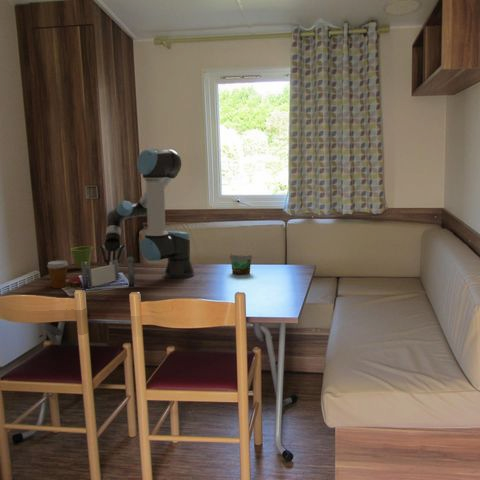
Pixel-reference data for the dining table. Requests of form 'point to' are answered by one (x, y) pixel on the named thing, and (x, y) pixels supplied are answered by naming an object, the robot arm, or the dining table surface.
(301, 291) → the dining table surface
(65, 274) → the disposable coffee cup
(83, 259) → the plant pot
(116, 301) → the dining table surface
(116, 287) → the strip
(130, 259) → the post
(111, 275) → the gate
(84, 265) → the hinge post
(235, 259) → the food container
